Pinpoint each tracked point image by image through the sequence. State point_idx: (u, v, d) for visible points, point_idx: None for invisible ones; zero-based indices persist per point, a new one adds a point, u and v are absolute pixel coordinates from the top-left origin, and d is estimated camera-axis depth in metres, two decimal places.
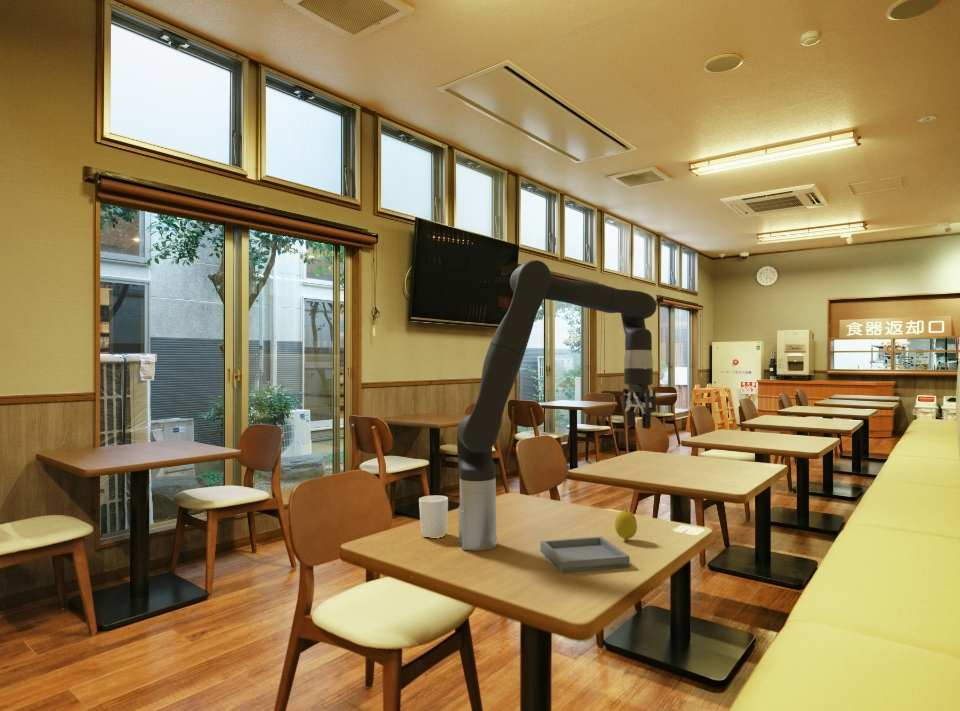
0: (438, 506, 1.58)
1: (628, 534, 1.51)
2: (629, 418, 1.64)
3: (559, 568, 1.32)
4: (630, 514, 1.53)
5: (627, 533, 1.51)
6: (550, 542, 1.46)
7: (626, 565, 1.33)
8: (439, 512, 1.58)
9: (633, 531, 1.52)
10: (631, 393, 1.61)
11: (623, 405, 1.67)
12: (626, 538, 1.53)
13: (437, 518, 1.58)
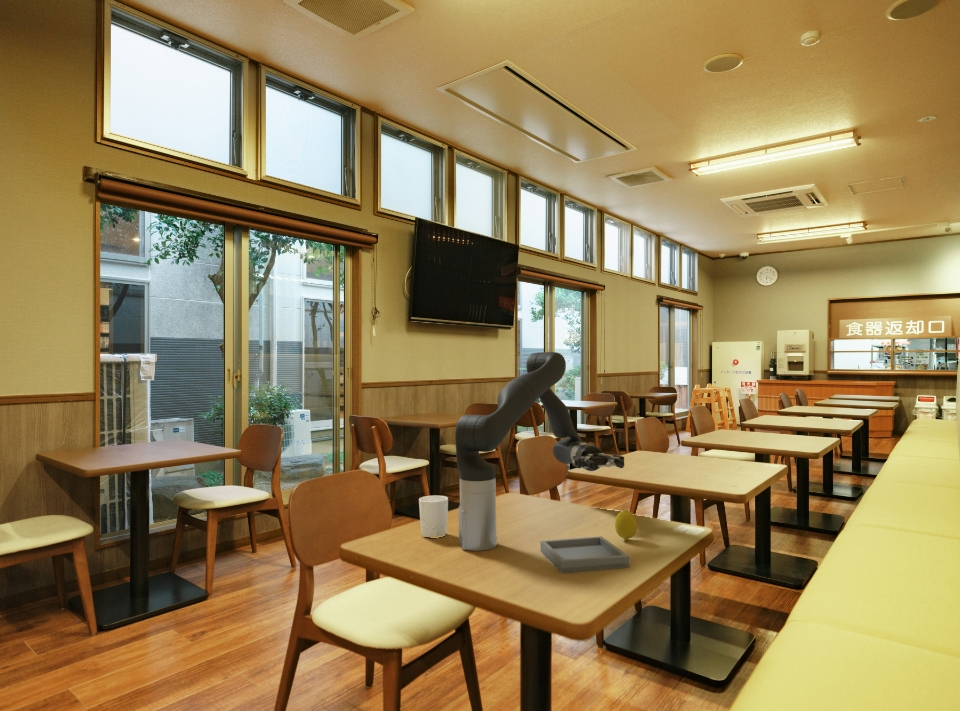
0: (438, 506, 1.58)
1: (628, 534, 1.51)
2: None
3: (559, 568, 1.32)
4: (630, 514, 1.53)
5: (627, 533, 1.51)
6: (550, 542, 1.46)
7: (626, 565, 1.33)
8: (440, 512, 1.58)
9: (633, 531, 1.52)
10: None
11: (578, 458, 1.69)
12: (626, 538, 1.53)
13: (437, 518, 1.58)
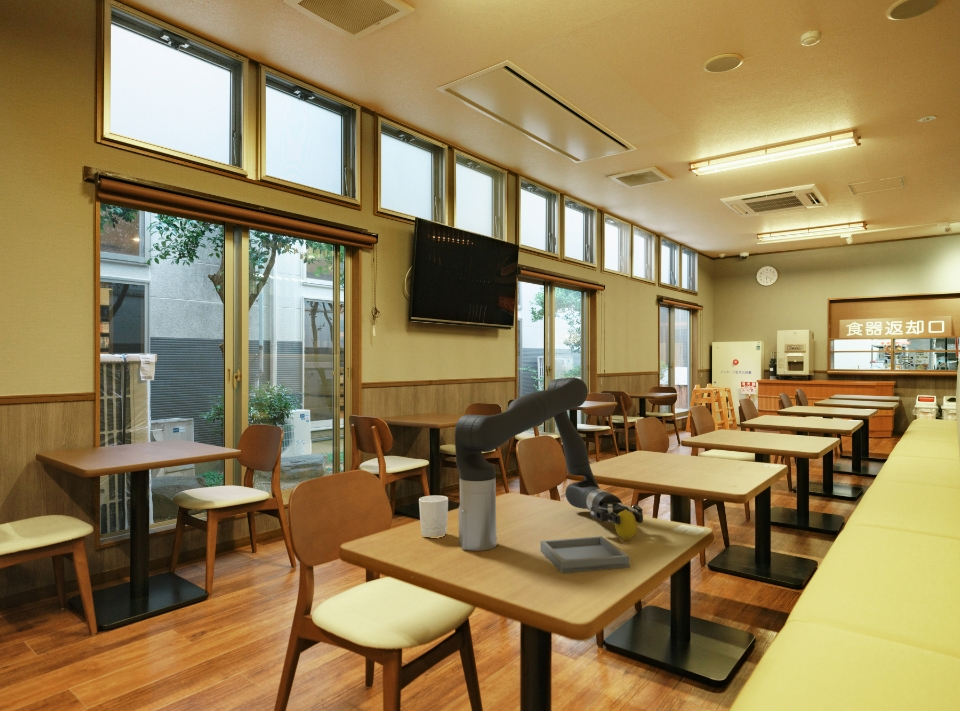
0: (438, 506, 1.58)
1: (628, 534, 1.51)
2: None
3: (559, 568, 1.32)
4: (630, 514, 1.53)
5: (627, 533, 1.51)
6: (550, 542, 1.46)
7: (626, 565, 1.33)
8: (440, 512, 1.58)
9: (633, 531, 1.52)
10: None
11: (602, 511, 1.56)
12: (626, 538, 1.53)
13: (437, 518, 1.58)
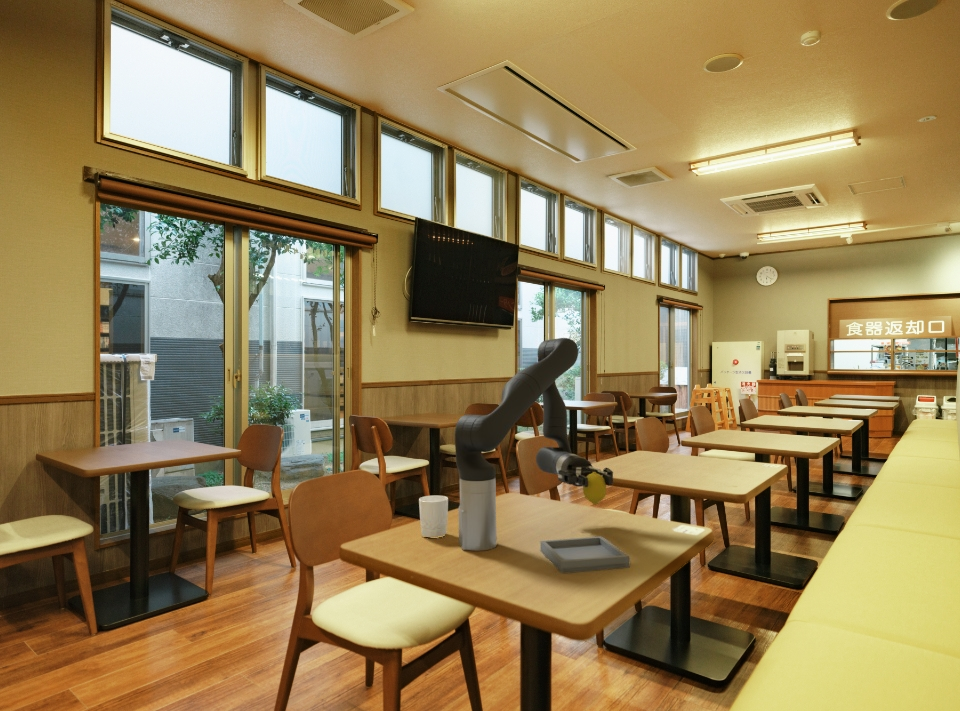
0: (438, 506, 1.58)
1: (596, 497, 1.42)
2: None
3: (559, 568, 1.32)
4: (599, 476, 1.43)
5: (596, 496, 1.41)
6: (550, 542, 1.46)
7: (626, 565, 1.33)
8: (440, 512, 1.58)
9: (602, 494, 1.42)
10: None
11: None
12: (594, 502, 1.43)
13: (437, 518, 1.58)
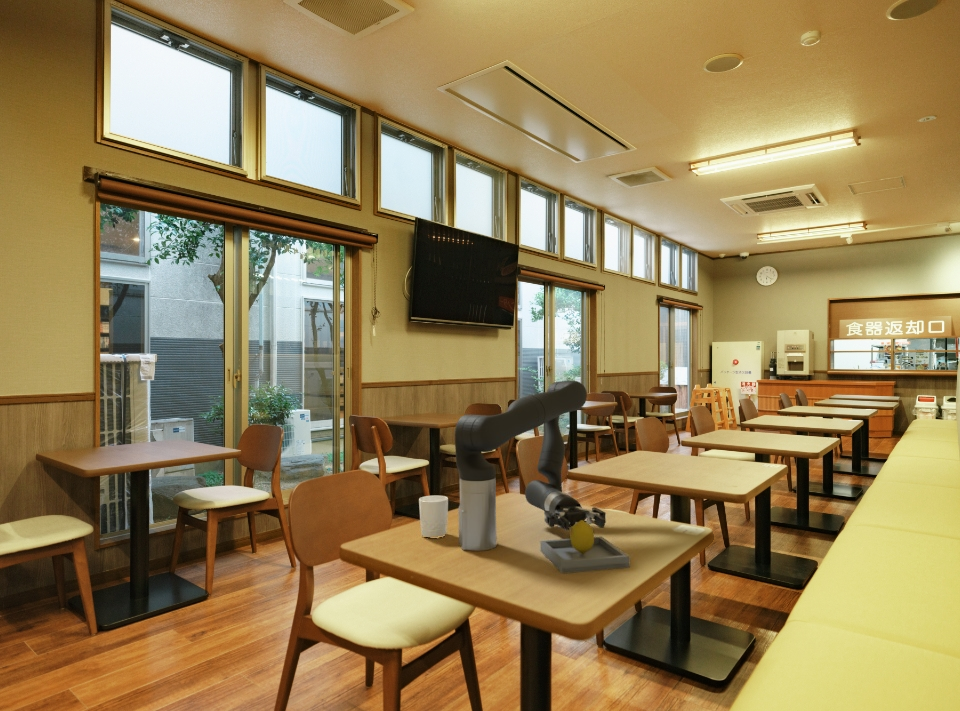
0: (438, 506, 1.58)
1: (584, 547, 1.38)
2: None
3: (559, 568, 1.32)
4: (586, 525, 1.39)
5: (583, 546, 1.38)
6: (550, 542, 1.46)
7: (626, 565, 1.33)
8: (439, 512, 1.58)
9: (589, 544, 1.38)
10: None
11: (551, 515, 1.42)
12: (582, 552, 1.39)
13: (437, 518, 1.58)
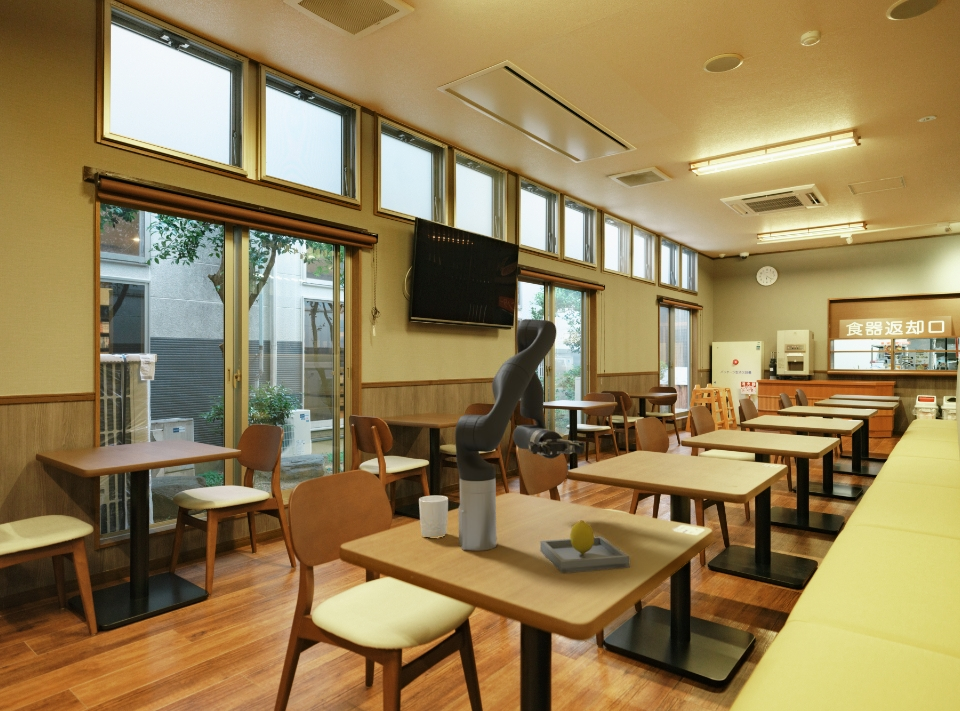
0: (438, 506, 1.58)
1: (584, 548, 1.38)
2: None
3: (559, 568, 1.32)
4: (586, 525, 1.39)
5: (583, 546, 1.38)
6: (550, 542, 1.46)
7: (626, 565, 1.33)
8: (439, 512, 1.58)
9: (589, 544, 1.38)
10: None
11: (534, 444, 1.55)
12: (582, 552, 1.39)
13: (437, 518, 1.58)
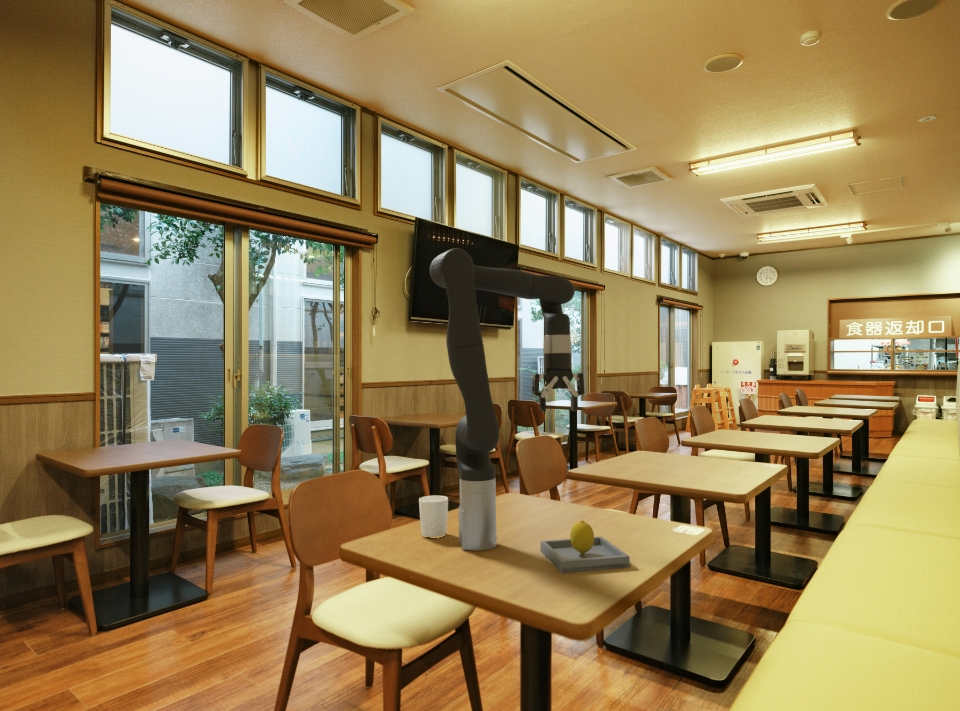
0: (438, 506, 1.58)
1: (584, 548, 1.38)
2: None
3: (559, 568, 1.32)
4: (586, 525, 1.39)
5: (583, 546, 1.38)
6: (550, 542, 1.46)
7: (626, 565, 1.33)
8: (439, 512, 1.58)
9: (589, 544, 1.38)
10: None
11: (536, 391, 1.60)
12: (582, 552, 1.39)
13: (437, 518, 1.58)
